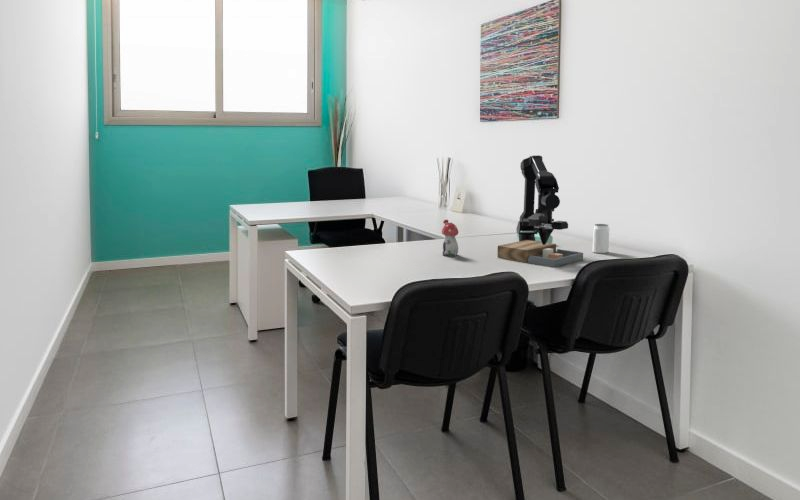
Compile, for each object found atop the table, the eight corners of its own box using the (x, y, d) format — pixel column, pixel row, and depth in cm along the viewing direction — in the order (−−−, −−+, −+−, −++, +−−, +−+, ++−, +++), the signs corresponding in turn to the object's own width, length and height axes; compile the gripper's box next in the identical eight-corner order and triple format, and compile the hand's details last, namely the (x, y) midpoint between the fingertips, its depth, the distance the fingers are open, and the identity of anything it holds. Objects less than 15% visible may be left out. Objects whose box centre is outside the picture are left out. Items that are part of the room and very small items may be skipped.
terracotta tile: (556, 255, 242) (556, 261, 243) (562, 254, 245) (562, 260, 245) (548, 254, 245) (548, 260, 246) (554, 252, 248) (554, 258, 248)
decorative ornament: (440, 253, 266) (440, 219, 263) (454, 252, 267) (454, 218, 264) (445, 257, 257) (445, 222, 254) (460, 256, 258) (460, 221, 255)
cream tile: (542, 249, 247) (548, 250, 246) (548, 248, 250) (553, 248, 248) (542, 259, 248) (547, 259, 246) (547, 257, 251) (553, 258, 249)
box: (527, 262, 244) (527, 255, 243) (556, 255, 257) (556, 248, 256) (554, 267, 234) (554, 259, 234) (582, 260, 247) (583, 252, 247)
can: (609, 253, 260) (610, 226, 257) (593, 253, 261) (594, 225, 259) (607, 251, 266) (608, 223, 264) (591, 250, 267) (592, 223, 265)
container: (516, 225, 304) (544, 231, 281) (526, 229, 306) (554, 235, 283) (512, 236, 304) (540, 243, 281) (522, 240, 306) (550, 247, 283)
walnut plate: (497, 257, 255) (497, 245, 254) (526, 251, 268) (526, 239, 267) (526, 262, 244) (527, 250, 243) (555, 255, 257) (556, 244, 256)
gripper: (514, 206, 247) (513, 244, 250) (553, 209, 234) (551, 249, 236) (530, 204, 255) (529, 241, 257) (569, 207, 241) (568, 246, 244)
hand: (543, 244), depth 248 cm, fingers closed
